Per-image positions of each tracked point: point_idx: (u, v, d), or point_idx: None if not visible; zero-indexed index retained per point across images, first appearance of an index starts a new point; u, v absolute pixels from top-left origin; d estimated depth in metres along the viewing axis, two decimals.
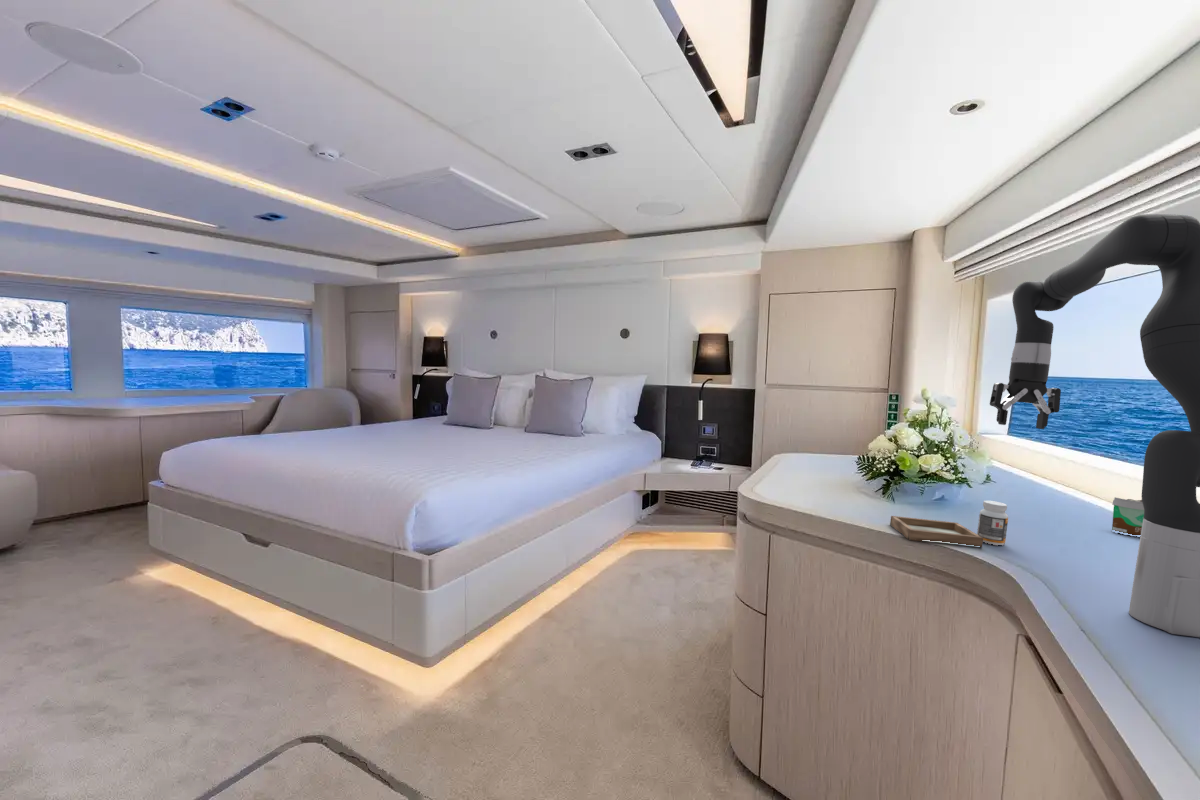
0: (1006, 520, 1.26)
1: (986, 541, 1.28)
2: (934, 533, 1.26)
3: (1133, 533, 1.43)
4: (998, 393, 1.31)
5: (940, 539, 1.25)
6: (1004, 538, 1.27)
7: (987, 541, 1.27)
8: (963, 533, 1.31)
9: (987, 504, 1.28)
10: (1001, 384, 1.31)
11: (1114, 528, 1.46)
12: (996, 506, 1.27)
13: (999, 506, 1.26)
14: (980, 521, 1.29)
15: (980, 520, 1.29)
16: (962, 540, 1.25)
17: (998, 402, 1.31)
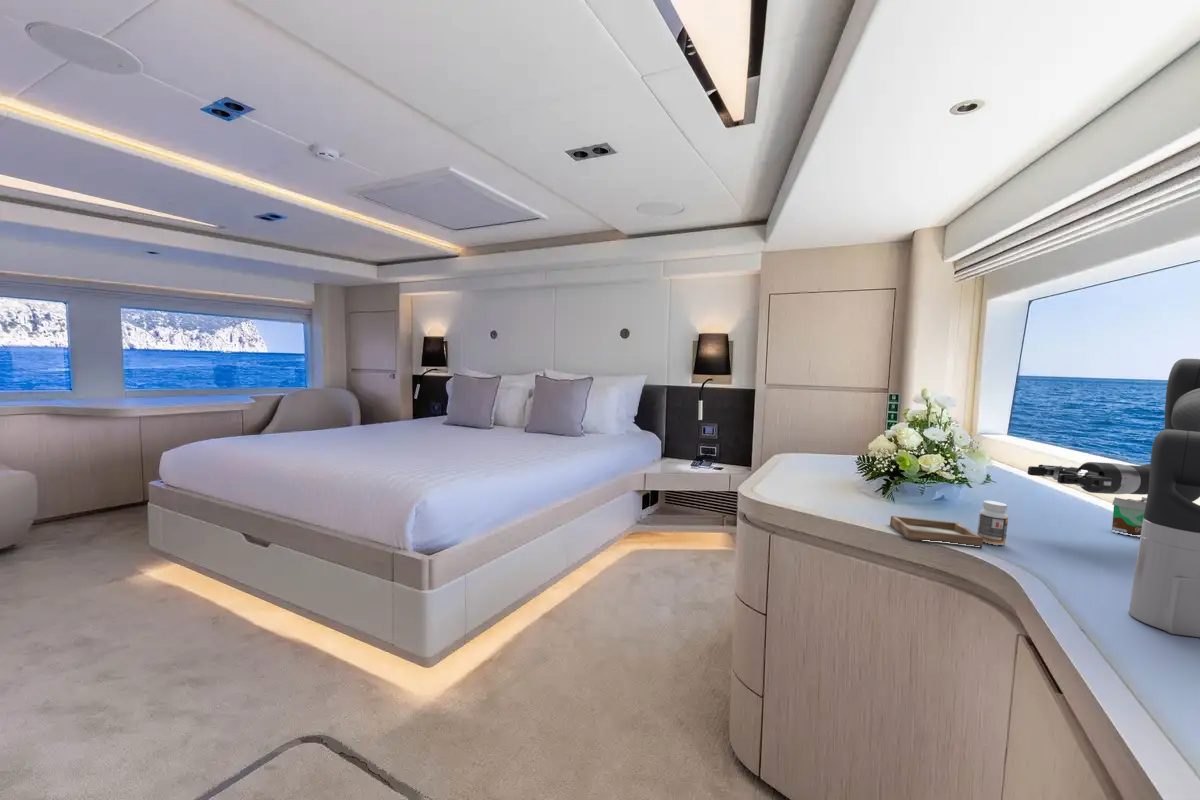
0: (1006, 520, 1.26)
1: (986, 541, 1.28)
2: (934, 533, 1.26)
3: (1133, 533, 1.43)
4: None
5: (940, 539, 1.25)
6: (1004, 538, 1.27)
7: (987, 541, 1.27)
8: (963, 533, 1.31)
9: (987, 504, 1.28)
10: (1061, 466, 1.35)
11: (1114, 528, 1.46)
12: (996, 506, 1.27)
13: (999, 506, 1.26)
14: (980, 521, 1.29)
15: (980, 520, 1.29)
16: (962, 540, 1.25)
17: (1043, 465, 1.35)
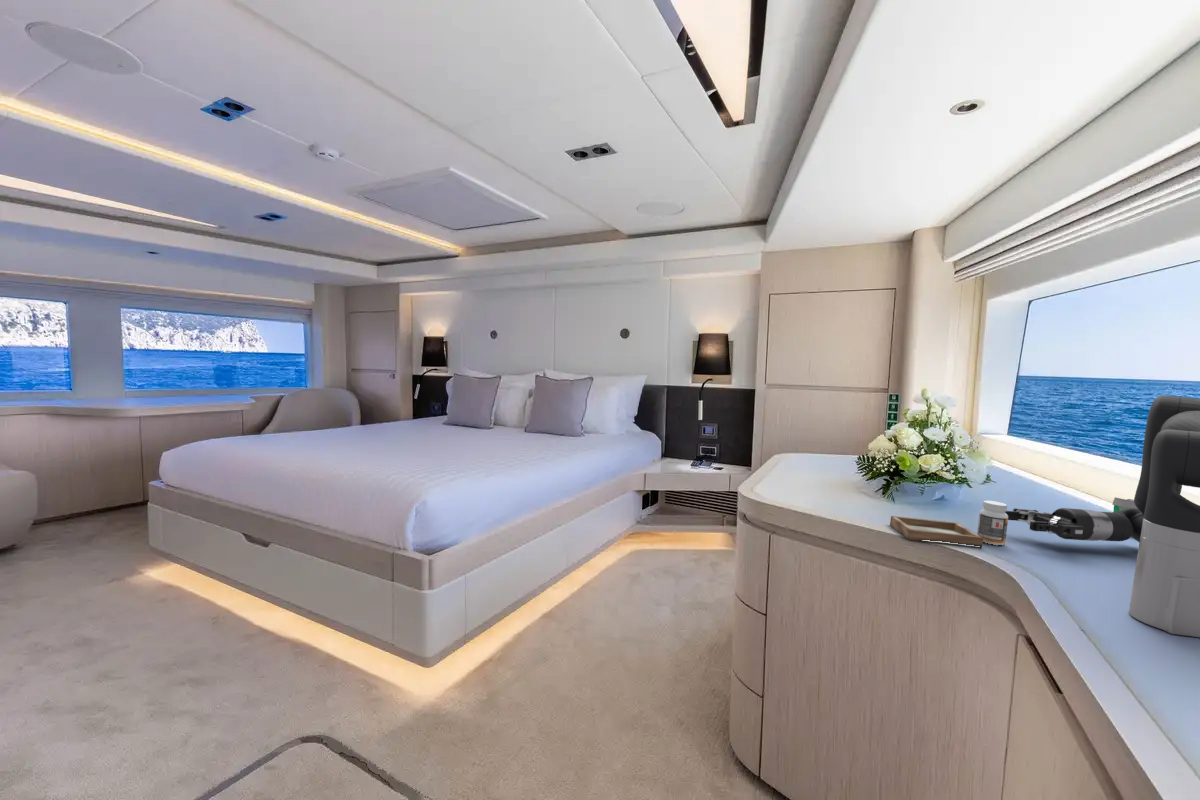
0: (1006, 520, 1.26)
1: (986, 541, 1.28)
2: (934, 533, 1.26)
3: None
4: None
5: (940, 539, 1.25)
6: (1004, 538, 1.27)
7: (987, 541, 1.27)
8: (963, 533, 1.31)
9: (987, 504, 1.28)
10: None
11: None
12: (996, 506, 1.27)
13: (999, 506, 1.26)
14: (980, 521, 1.29)
15: (980, 520, 1.29)
16: (962, 540, 1.25)
17: (1018, 509, 1.35)
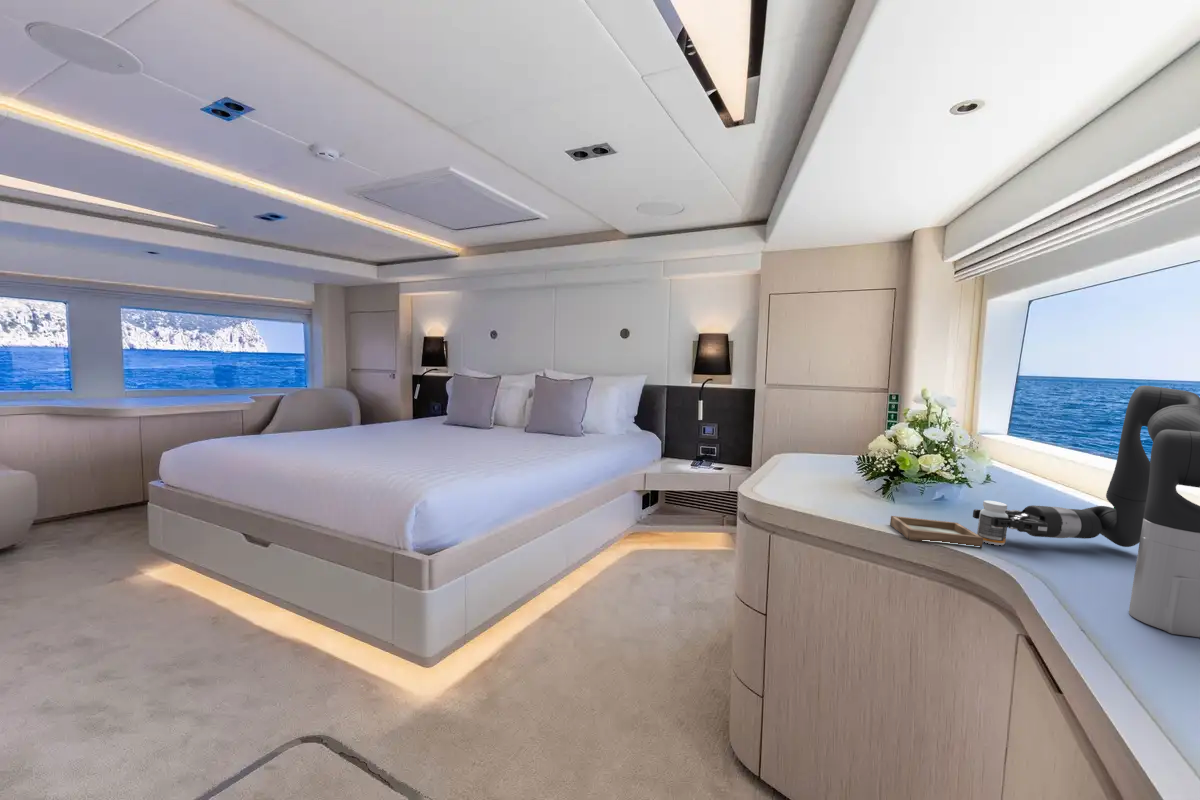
0: None
1: (986, 541, 1.28)
2: (934, 533, 1.26)
3: None
4: None
5: (940, 539, 1.25)
6: (1004, 538, 1.27)
7: (987, 541, 1.27)
8: (963, 533, 1.31)
9: (987, 504, 1.28)
10: None
11: None
12: (996, 506, 1.27)
13: (999, 506, 1.26)
14: (980, 521, 1.29)
15: (980, 520, 1.29)
16: (962, 540, 1.25)
17: None
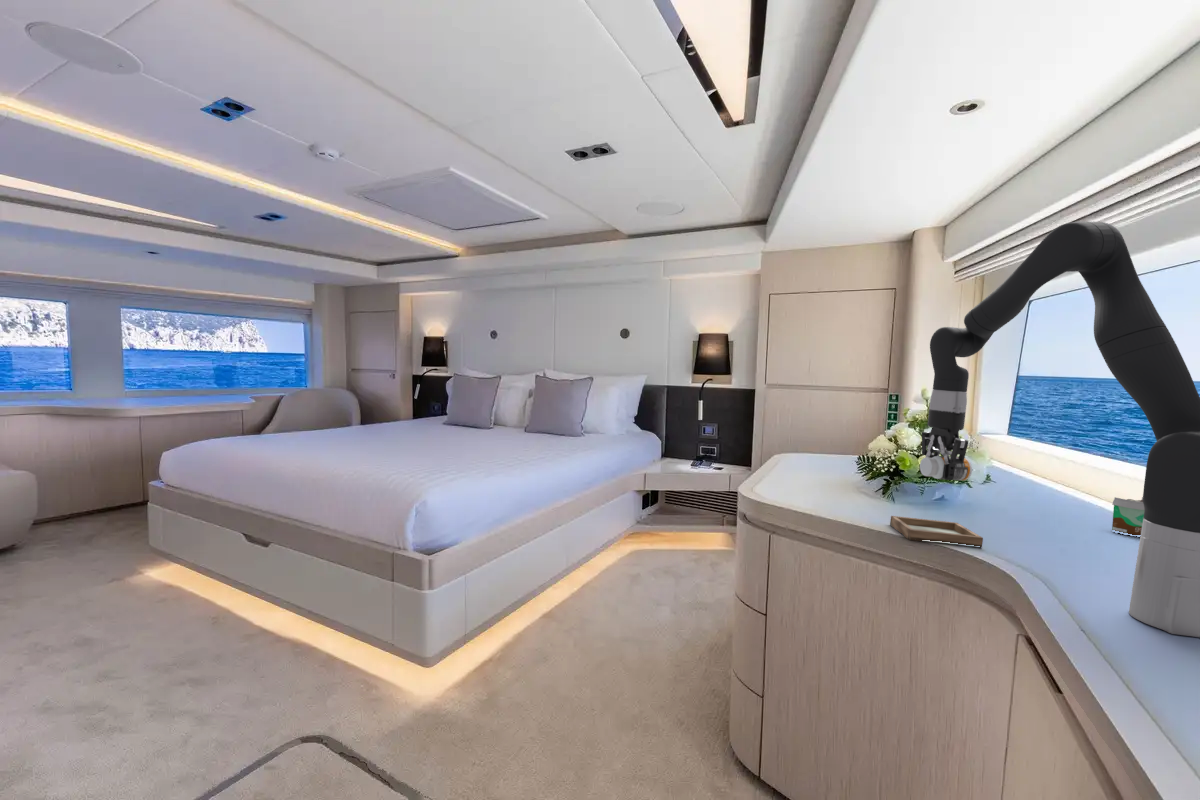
0: None
1: (966, 479, 1.29)
2: (934, 533, 1.26)
3: (1133, 533, 1.43)
4: (922, 442, 1.36)
5: (940, 539, 1.25)
6: (965, 465, 1.27)
7: (966, 479, 1.28)
8: (963, 533, 1.31)
9: None
10: (922, 433, 1.36)
11: (1114, 528, 1.46)
12: (931, 473, 1.28)
13: (932, 471, 1.28)
14: None
15: None
16: (962, 540, 1.25)
17: (923, 451, 1.35)
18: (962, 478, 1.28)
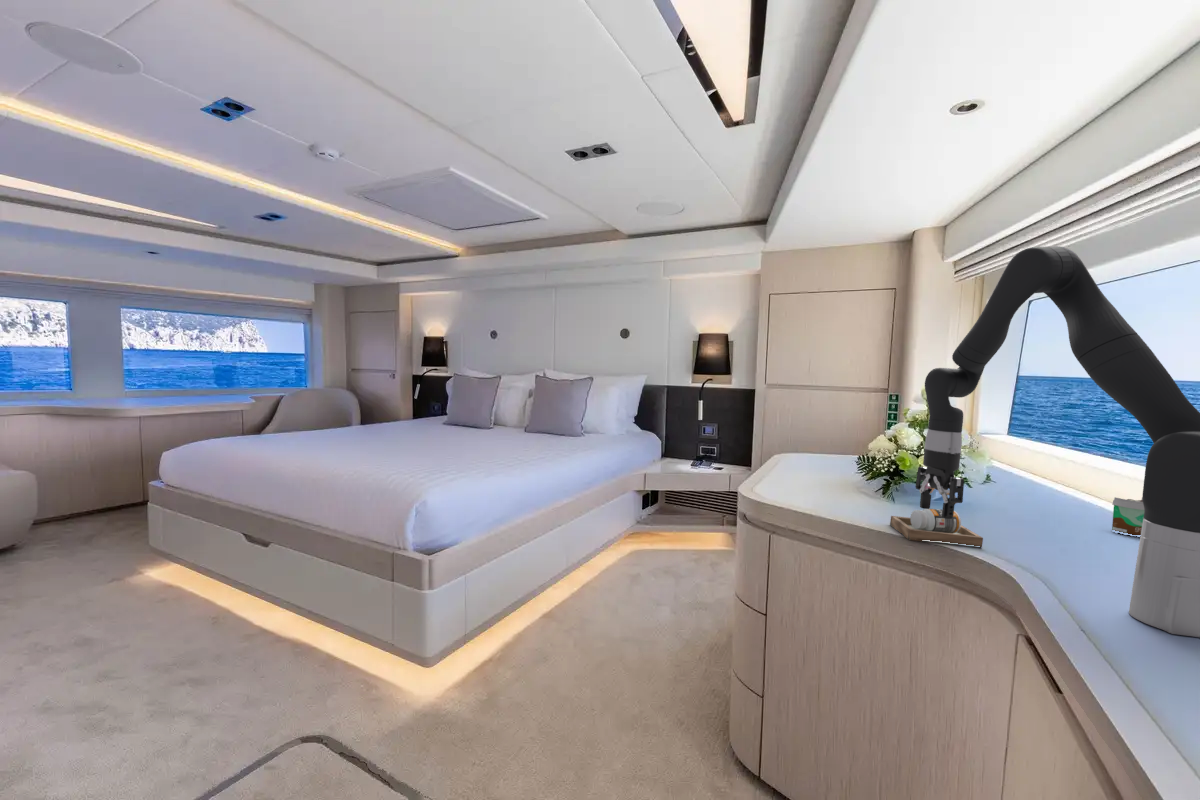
0: (935, 514, 1.30)
1: (957, 530, 1.30)
2: (934, 533, 1.26)
3: (1133, 533, 1.43)
4: (917, 476, 1.37)
5: (940, 539, 1.25)
6: None
7: (957, 530, 1.30)
8: (963, 533, 1.31)
9: (919, 528, 1.31)
10: (919, 468, 1.36)
11: (1114, 528, 1.46)
12: (923, 523, 1.30)
13: (922, 521, 1.30)
14: None
15: None
16: (962, 540, 1.25)
17: (917, 485, 1.37)
18: (953, 529, 1.30)
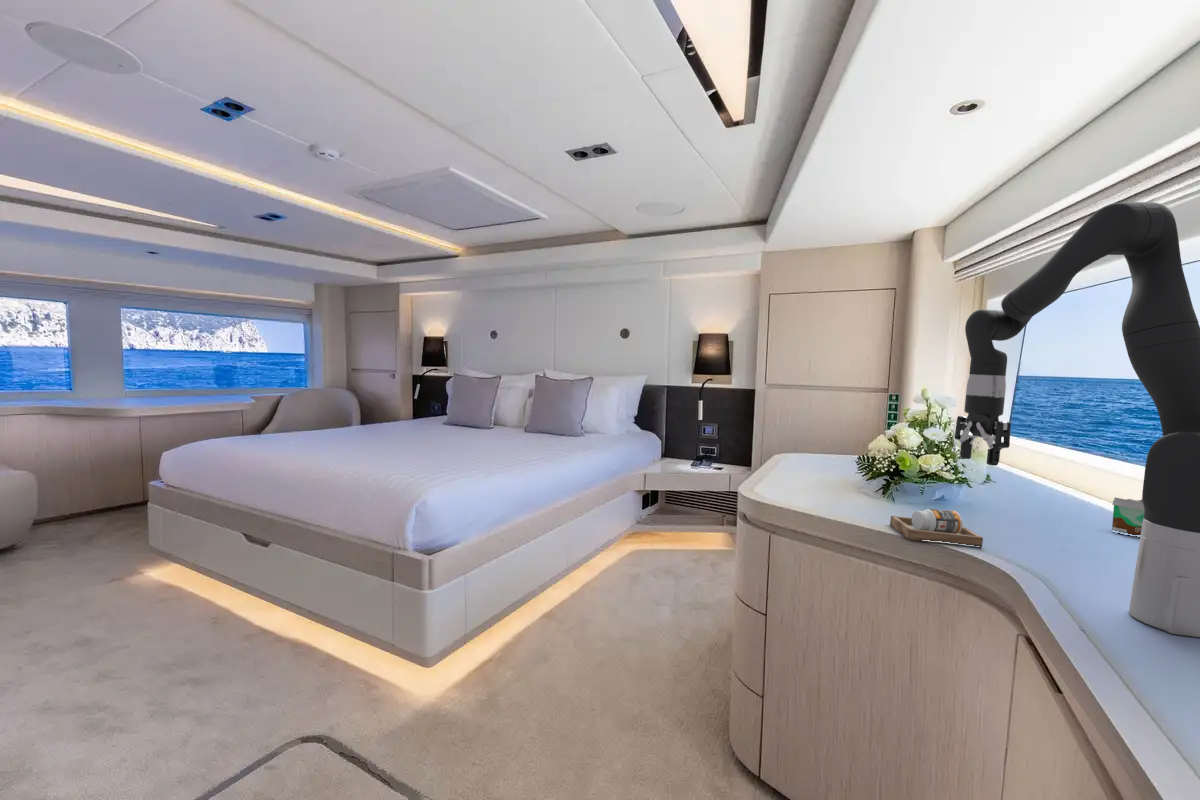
0: (937, 516, 1.29)
1: (958, 532, 1.30)
2: (934, 533, 1.26)
3: (1133, 533, 1.43)
4: (956, 426, 1.32)
5: (940, 539, 1.25)
6: (955, 517, 1.29)
7: (958, 532, 1.30)
8: (963, 533, 1.31)
9: (919, 529, 1.31)
10: (958, 417, 1.31)
11: (1114, 528, 1.46)
12: (923, 526, 1.29)
13: (923, 523, 1.29)
14: None
15: None
16: (962, 540, 1.25)
17: (956, 435, 1.32)
18: (954, 531, 1.29)
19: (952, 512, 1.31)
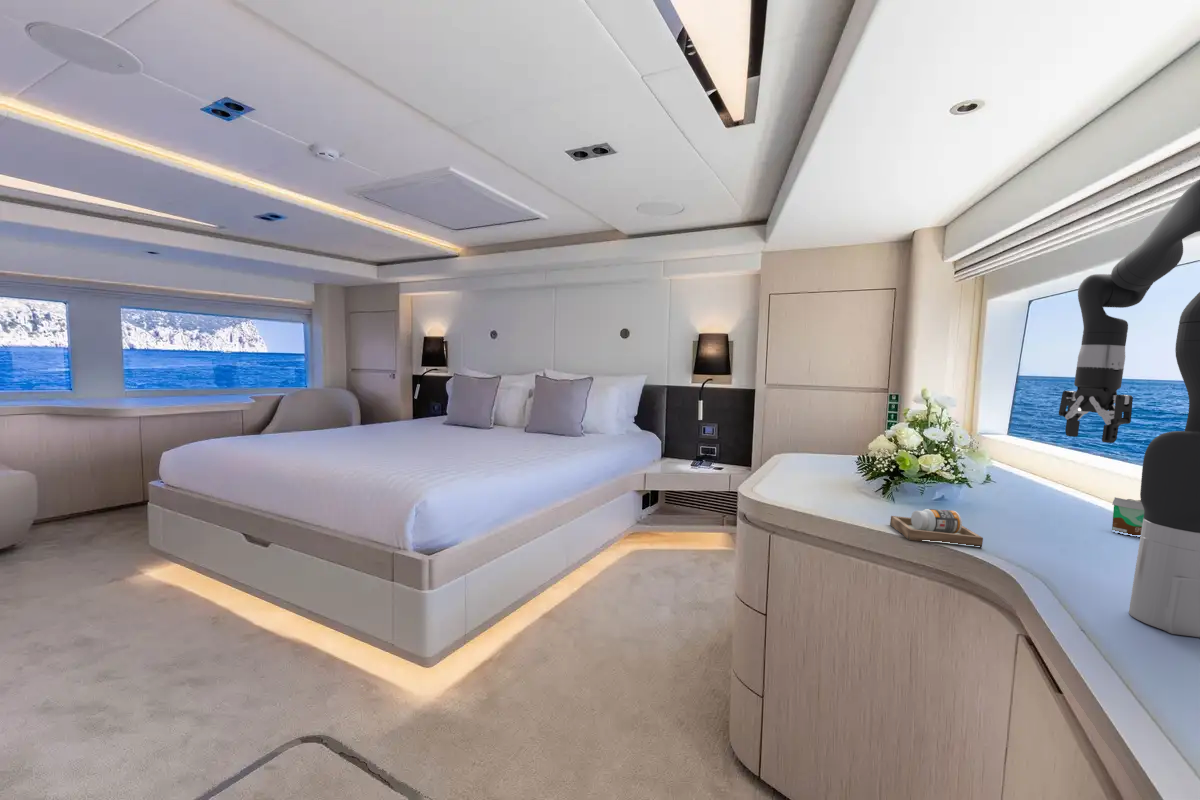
0: (936, 515, 1.30)
1: (957, 531, 1.30)
2: (934, 533, 1.26)
3: (1133, 533, 1.43)
4: (1061, 401, 1.22)
5: (940, 539, 1.25)
6: (954, 516, 1.30)
7: (958, 531, 1.30)
8: (963, 533, 1.31)
9: (919, 529, 1.31)
10: (1064, 392, 1.22)
11: (1114, 528, 1.46)
12: (923, 525, 1.29)
13: (923, 522, 1.29)
14: None
15: None
16: (962, 540, 1.25)
17: (1061, 411, 1.22)
18: (954, 530, 1.30)
19: (951, 511, 1.31)
